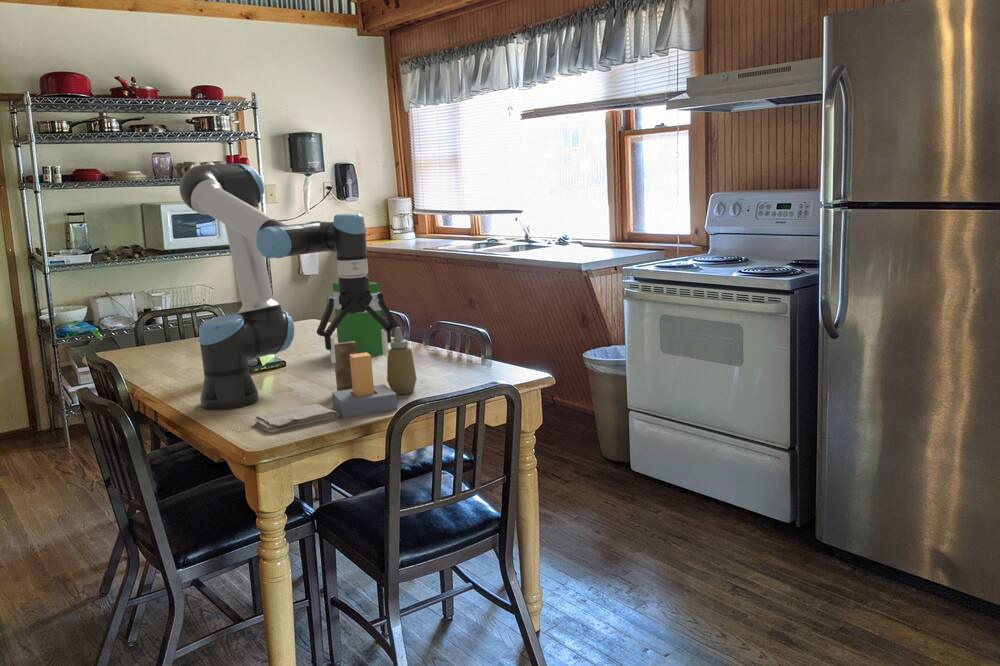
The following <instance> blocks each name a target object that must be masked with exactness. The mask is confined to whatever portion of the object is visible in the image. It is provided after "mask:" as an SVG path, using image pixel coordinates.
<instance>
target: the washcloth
mask: <svg viewBox="0 0 1000 666" xmlns="http://www.w3.org/2000/svg"><path fill="white" fill-rule="evenodd" d="M339 416H340V414H339V413H338V411H337V410H333V409H330V408H327V407H325V406H323V405H320V404H319V403H313V404H308V405H303V406H295V407H290V408H287V409H281V410H278V411H273V412H268V413H263V414H259V415H256V416H255V418H254V420H253V421H255V425H257V427H258V428H260V429H262V430H263V431H265V432H266V433H269V434H275V433H280V432H285V431H290V430H294V429H295V430H296V429H301V428H304V427H308V426H313V425H318V424H322V423H326V422H331V421H335V420H336V419H338V417H339Z"/></svg>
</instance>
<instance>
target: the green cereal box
mask: <svg viewBox="0 0 1000 666" xmlns="http://www.w3.org/2000/svg"><path fill="white" fill-rule="evenodd" d="M369 287H370V294H371V295H372V294H376V293H377V292H380V284H379V282H373V281H372V282H371V281H369ZM332 291H333V293H332V294H333V298H339V295H340V292H339V282H332ZM369 306H370V307H371V308H372V309H373V310H374V311H375V312H376V313H377V314H378V315H379V316H380V317H381V318H382V319H383V317H382V309H381V308H380V306H379V304H378V302H376V301H375V300H374V299H372V300H371V302H370V304H369ZM341 307H342V306H341V304H340V303H339V302H338V303H337V304H336V306H334V312H335V313H334V314H335V316H336V315H337V314H338V312H339V310H340V309H341ZM381 330H384V328H383V327H382V326H381V325H380V324H379V323H378V322H377V321H376V320H375V319H374V318H373V317H372V316H371V315H370V314H369V313H368V312H367V311H366V310H365V311H364V312H363V313H359V312H356V313H353V314H351V313H347V315H346V316H345V317H344V318H343V319H342V321H341V322H340V324H339V325H338V326H337V328H336V333H337V334H336V335H337V343H342V342H350V341H355V342H356V349H357V354H358V353H366V352H367V353H368V354H370V355H371V358H372V357H376V356H383V347H382V333H381Z"/></svg>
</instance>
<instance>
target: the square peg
mask: <svg viewBox="0 0 1000 666" xmlns="http://www.w3.org/2000/svg"><path fill="white" fill-rule="evenodd" d="M350 365H351V376H352V387H353V396H354V397H360V396H366V395H373V394H374V386H375V385H374V374H373V361H372V357H371V355H370V354H368V353H367V352H366V353H358V354H351V355H350Z"/></svg>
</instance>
